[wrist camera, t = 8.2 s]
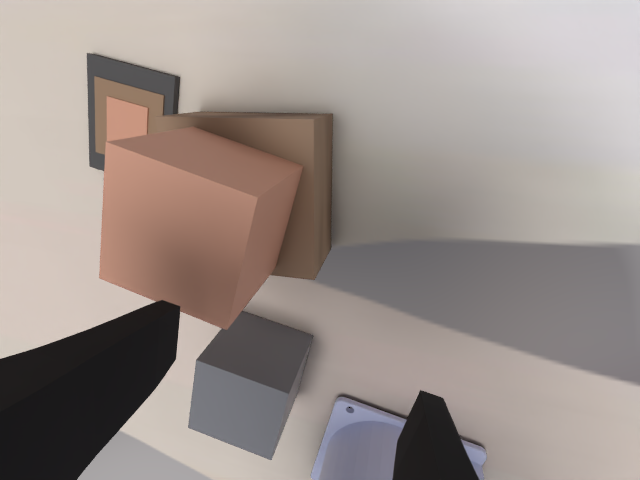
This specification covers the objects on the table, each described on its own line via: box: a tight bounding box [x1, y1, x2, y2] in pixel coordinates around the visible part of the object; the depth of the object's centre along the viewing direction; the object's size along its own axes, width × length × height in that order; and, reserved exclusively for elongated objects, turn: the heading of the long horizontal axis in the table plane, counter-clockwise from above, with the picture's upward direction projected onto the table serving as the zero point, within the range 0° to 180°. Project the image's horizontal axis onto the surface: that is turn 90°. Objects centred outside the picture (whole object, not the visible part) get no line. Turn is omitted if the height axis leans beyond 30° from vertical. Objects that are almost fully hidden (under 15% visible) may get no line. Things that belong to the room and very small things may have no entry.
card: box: [87, 53, 180, 171], centre depth 20 cm, size 5×6×1 cm
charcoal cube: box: [188, 311, 313, 460], centre depth 22 cm, size 5×5×5 cm
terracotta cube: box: [99, 127, 304, 330], centre depth 15 cm, size 5×5×5 cm
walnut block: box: [155, 112, 333, 280], centre depth 19 cm, size 7×7×4 cm
